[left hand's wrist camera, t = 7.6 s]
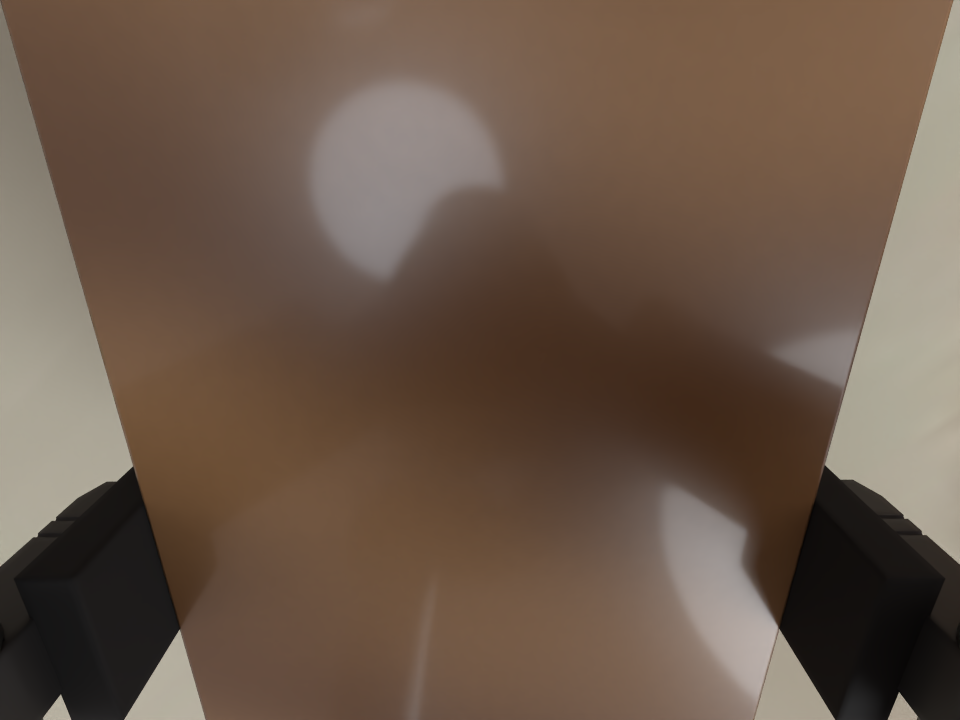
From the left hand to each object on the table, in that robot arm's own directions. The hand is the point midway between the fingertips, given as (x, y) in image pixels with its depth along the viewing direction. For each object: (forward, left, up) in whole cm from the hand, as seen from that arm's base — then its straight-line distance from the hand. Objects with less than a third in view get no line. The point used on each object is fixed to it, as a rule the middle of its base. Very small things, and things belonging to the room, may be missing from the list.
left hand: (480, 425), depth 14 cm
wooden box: (+5, -2, -3) cm, 6 cm away
